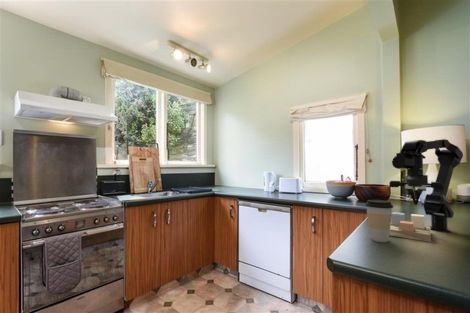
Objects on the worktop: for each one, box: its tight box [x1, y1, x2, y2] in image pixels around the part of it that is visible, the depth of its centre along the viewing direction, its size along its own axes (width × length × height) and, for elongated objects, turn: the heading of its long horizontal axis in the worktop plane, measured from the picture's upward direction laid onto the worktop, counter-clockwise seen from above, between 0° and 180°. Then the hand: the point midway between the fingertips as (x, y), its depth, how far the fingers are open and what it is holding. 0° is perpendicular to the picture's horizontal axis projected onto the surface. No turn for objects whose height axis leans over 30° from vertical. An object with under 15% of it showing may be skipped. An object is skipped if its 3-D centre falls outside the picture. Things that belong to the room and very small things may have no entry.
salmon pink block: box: [400, 220, 414, 232], centre depth 99 cm, size 4×4×5 cm
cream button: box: [410, 213, 426, 229], centre depth 103 cm, size 4×4×5 cm
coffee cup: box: [364, 199, 394, 243], centre depth 93 cm, size 9×9×15 cm
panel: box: [389, 221, 432, 243], centre depth 102 cm, size 16×15×2 cm
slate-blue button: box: [391, 211, 406, 226], centre depth 108 cm, size 4×4×5 cm
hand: (415, 204), depth 105 cm, fingers closed
